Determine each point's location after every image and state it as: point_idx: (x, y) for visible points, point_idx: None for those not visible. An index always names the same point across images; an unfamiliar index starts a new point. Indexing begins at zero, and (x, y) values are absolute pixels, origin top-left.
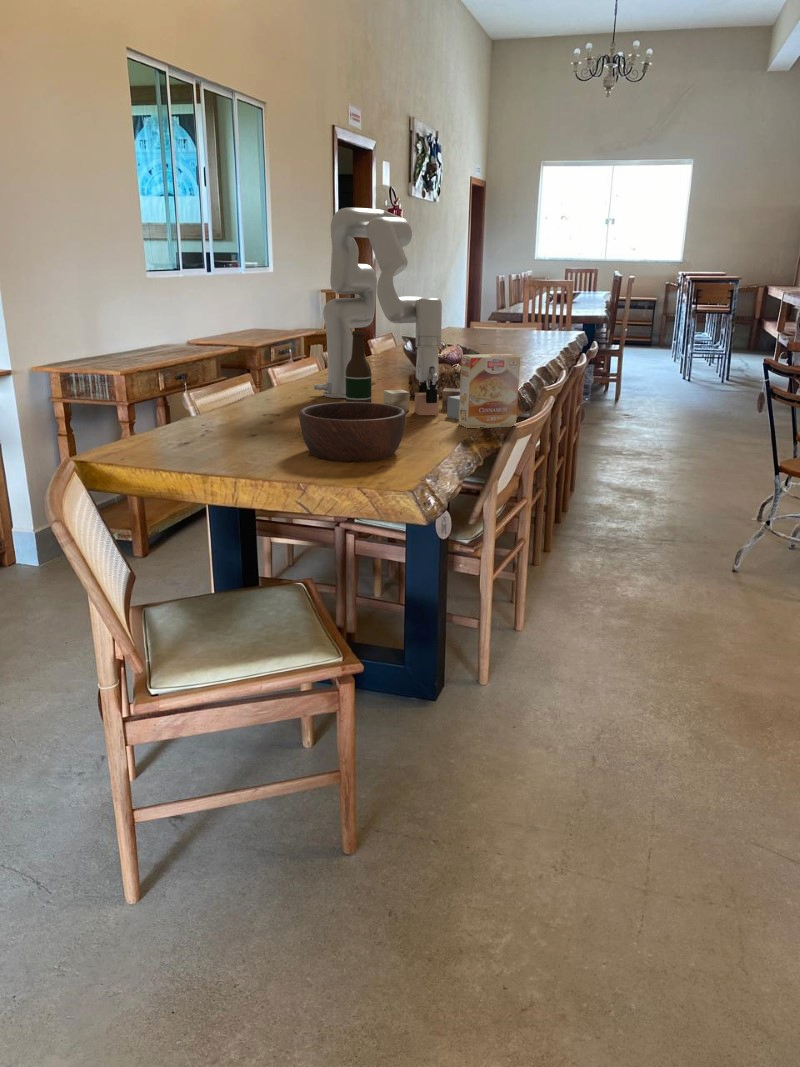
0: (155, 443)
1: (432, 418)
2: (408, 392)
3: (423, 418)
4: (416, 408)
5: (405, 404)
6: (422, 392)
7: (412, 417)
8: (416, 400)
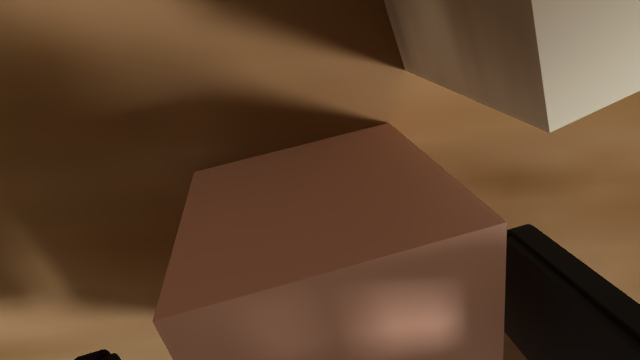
0: None
1: (86, 293)
2: (551, 109)
3: (55, 223)
4: (311, 165)
5: (426, 31)
6: (546, 310)
7: (76, 113)
8: (338, 206)
